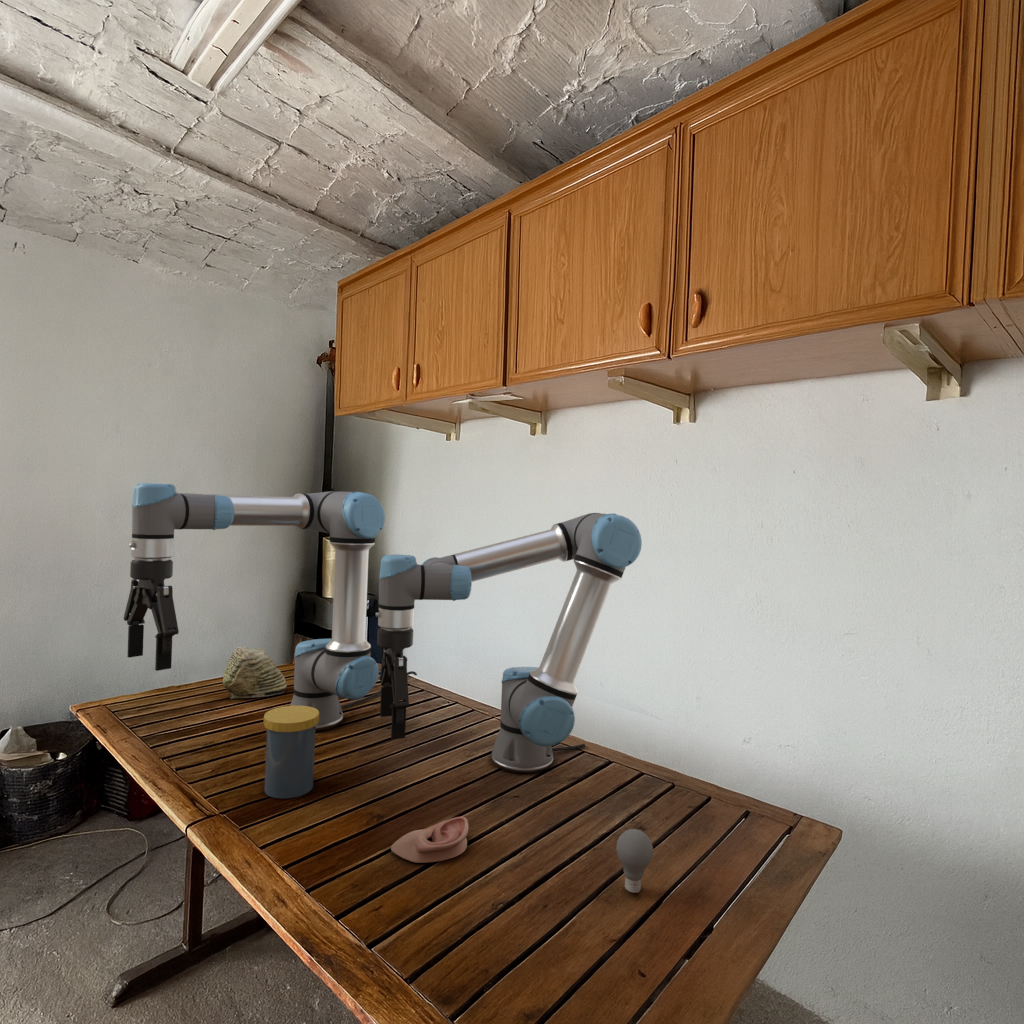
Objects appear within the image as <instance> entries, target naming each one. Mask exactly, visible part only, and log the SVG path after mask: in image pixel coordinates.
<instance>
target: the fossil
mask: <svg viewBox="0 0 1024 1024" xmlns="http://www.w3.org/2000/svg"><path fill="white" fill-rule="evenodd" d="M222 676H223V677H222V685H223V687H224V688H225V690H226V691H228V693H229V698H230V699H250V698H264V697H271V696H275V695H281V694H284V693H285V691H286V689H287V687H288V686H287V680H286V678H285V676H284V674H283V673H282V672H281V669H279V668H278V667H277V665H276V663H275V662H274V660H273V659H272V658H271V657H270V656H269V655H268V654H267V653H266V652H265V650H264V649H263V648H260V647H258V648H251V647H247V646H246V647H245V646H238V647H237V648H236V649H235V650H233V651H232V653H231V656H230V657H229V659H228V660H227V663H226V666H225V668H224V671H223V675H222Z"/></svg>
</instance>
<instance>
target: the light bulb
mask: <svg viewBox="0 0 1024 1024" xmlns="http://www.w3.org/2000/svg"><path fill="white" fill-rule="evenodd" d="M615 849H616V854H617V857H618V859H619V861H620V863H621V865H622V867H623V873H624V874H623V875H624V876H625V878H624V888H625V890H627V891H628V892H630V893H634V894H635V893H639V892H640V891H641V889H642V887H641V886H642V879H643V877H644V875H645V871H646V868H647V867H648V866H649V864H650V863H651V861H652V859H653V855H654V847H653V843H652V841H651V838H649V836H648V835H647V834H646V833H645V832H643V831H642V830H641V829H636V828H629V829H627V830H625V831H623V832H622V833H621V834H620V835H619V837H618V839H617V841H616V847H615Z"/></svg>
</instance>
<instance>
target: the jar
mask: <svg viewBox="0 0 1024 1024" xmlns="http://www.w3.org/2000/svg"><path fill="white" fill-rule="evenodd" d="M265 732H266V733H265V734H266V736H265V758H264V761H265V762H264V763H265V764H264V785H263V791H264V794H265V795H266V796H268V797H270V798H274V799H293V798H297V797H302V796H304V795H306V794H308V793H309V792H310V791H312V790H313V788H314V783H315V756H316V755H315V754H316V733H317V732H316V725H315V726H314V727H312V728H309V729H306V730H302V731H296V732H276V731H271V730H268V729H266V731H265Z"/></svg>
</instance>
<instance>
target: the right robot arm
mask: <svg viewBox="0 0 1024 1024" xmlns="http://www.w3.org/2000/svg"><path fill="white" fill-rule="evenodd" d="M642 541H643V540H642V534H641V533H640V531H639V528H638V526H637V525H636V524H635V522H634V521H632V520H631V519H630V518H628V517H626V516H624V515H621V514H616V513H600V512H590V513H586V514H583V515H582V514H581V515H580V516H577V517H574V518H571V519H568V520H565V521H562V522H558V523H554V524H552V526H551V528H550V529H547V530H543V531H540V532H536V533H532V534H528V535H523V536H519V537H516V538H512V539H508V540H505V541H500V542H497V543H493V544H489V545H484V546H481V547H477V548H473V549H469V550H464V551H460V552H456V553H453V554H450V555H445V556H443V557H442V556H441V557H436V556H435V557H434V556H433V557H430V558H427V559H426V560H424V561H423V562H422V564H418V563H417V558H416V556H414V555H410V554H398V553H397V554H386V555H384V556H382V558H381V560H380V566H379V567H380V568H379V576H378V577H379V581H378V612H375V617H376V618H378V619H377V625H378V627H379V628H378V629H377V634H376V635H377V639H376V640H377V641H376V644H377V646H378V647H379V648H381V649H382V650H383V651H382V658H381V664H380V665H381V666H380V672H379V676H378V678H379V679H378V680H379V681H380V685H381V687H380V690H381V693H380V704H379V705H380V707H379V708H380V709H379V716H380V718H383V717H384V718H385V717H391V726H390V727H391V731H390V739H391V740H400V739H401V740H402V739H406V725H407V723H406V722H407V708H408V707H409V706H410V700H409V699H410V697H409V681H408V675H407V673H408V657H407V656H406V655H404V650H405V649H408V648H411V647H412V646H413V645H414V629H413V627H414V625H415V609H416V608H415V601H424V600H425V601H453V602H454V601H465V600H467V599H469V598H470V596H471V593H472V585H473V584H472V583H473V582H477V581H480V580H484V579H489V578H492V577H496V576H499V575H503V574H504V575H505V574H507V573H512V572H515V571H519V570H522V569H526V568H530V567H534V566H537V565H541V564H545V563H548V562H552V561H556V560H559V561H561V562H563V563H565V562H568V561H573V563H574V566H575V568H576V571H575V574H574V576H573V579H572V581H571V584H570V587H569V590H568V593H567V594H566V598H565V600H564V602H563V605H562V607H561V611H560V613H559V615H558V617H557V621H556V623H555V626H554V629H553V631H552V633H551V636H550V639H549V641H548V644H547V646H546V649H545V652H544V654H543V656H542V659H541V662H540V665H539V666H511V667H508V668H505V670H503V672H502V679H501V698H500V699H501V701H500V702H501V703H500V725H499V731H498V733H497V736H496V739H495V741H494V744H493V747H492V749H491V762H492V764H493V765H494V766H495V767H497V768H499V769H501V770H504V771H507V772H510V773H514V774H535V773H542V772H544V771H546V770H549V769H550V768H551V767H552V766H553V764H554V752H560V751H572V750H578V749H582V748H585V747H586V744H585V743H581V744H577V745H572V746H560V747H554V746H556V745H559V744H561V743H563V742H564V741H565V740H566V739H567V738H568V737H569V736H570V734H571V733H572V732H573V729H574V727H575V720H576V717H575V712H574V708H573V706H574V703H575V700H576V698H577V696H578V689H577V686H576V684H575V681H576V679H577V676H578V674H579V671H580V669H581V666H582V663H583V660H584V658H585V655H586V653H587V651H588V648H589V646H590V642H591V640H592V638H593V635H594V632H595V629H596V627H597V624H598V622H599V620H600V616H601V613H602V612H603V609H604V605H605V603H606V601H607V599H608V598H607V597H608V595H609V593H610V590H611V587H612V586H613V584H615V583H617V582H619V581H621V580H622V578H623V575H624V573H625V570H626V567H629V566H630V565H632V564H634V563H635V562H636V561H637V559H638V557H639V556H640V553H641V551H642V547H643V546H642V545H643V544H642V543H643V542H642Z"/></svg>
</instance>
